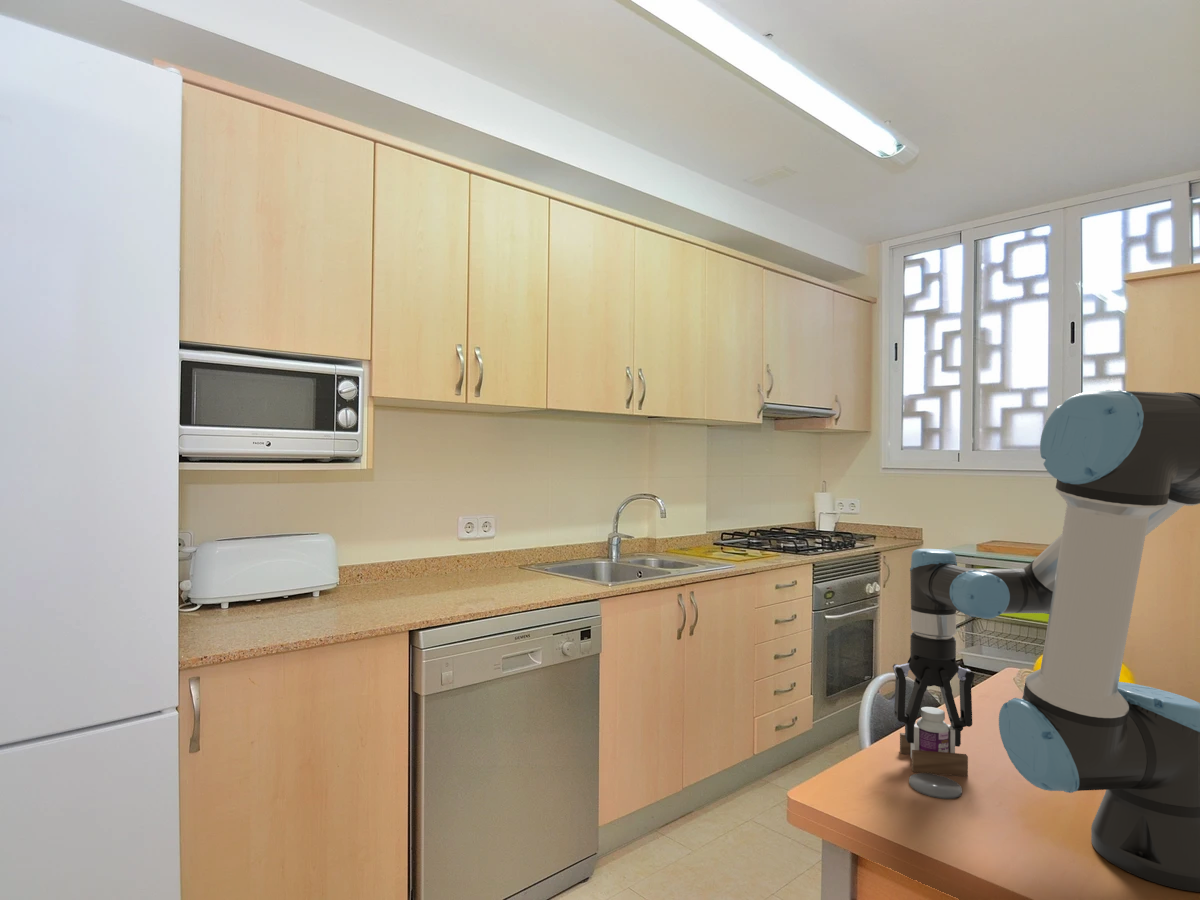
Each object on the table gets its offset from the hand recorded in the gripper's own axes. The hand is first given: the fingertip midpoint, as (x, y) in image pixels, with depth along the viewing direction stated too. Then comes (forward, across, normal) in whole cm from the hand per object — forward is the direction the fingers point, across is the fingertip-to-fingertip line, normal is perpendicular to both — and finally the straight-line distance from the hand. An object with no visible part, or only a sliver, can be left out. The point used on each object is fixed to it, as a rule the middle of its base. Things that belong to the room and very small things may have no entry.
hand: (932, 761), depth 125 cm
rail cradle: (0, 0, 0) cm, 0 cm away
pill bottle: (0, 0, 0) cm, 0 cm away
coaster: (0, +2, +10) cm, 10 cm away
